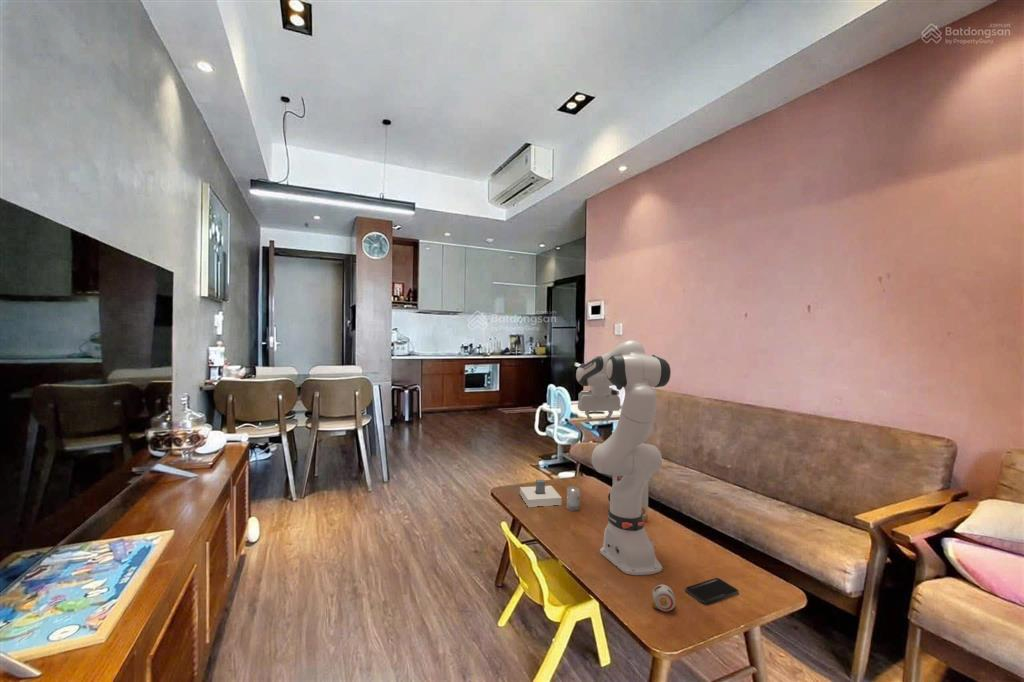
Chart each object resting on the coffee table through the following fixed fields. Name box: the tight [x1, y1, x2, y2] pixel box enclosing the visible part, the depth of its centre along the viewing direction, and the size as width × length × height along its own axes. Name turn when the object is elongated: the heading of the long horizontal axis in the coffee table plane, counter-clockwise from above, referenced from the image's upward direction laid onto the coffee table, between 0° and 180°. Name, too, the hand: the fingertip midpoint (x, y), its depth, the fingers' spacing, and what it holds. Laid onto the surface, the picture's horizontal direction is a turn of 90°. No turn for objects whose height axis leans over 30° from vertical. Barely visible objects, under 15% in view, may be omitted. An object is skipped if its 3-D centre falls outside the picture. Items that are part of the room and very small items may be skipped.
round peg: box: [566, 485, 580, 512], centre depth 184 cm, size 6×6×9 cm
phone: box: [684, 577, 739, 606], centre depth 124 cm, size 8×1×15 cm
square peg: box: [535, 479, 546, 494], centre depth 194 cm, size 4×4×9 cm
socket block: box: [519, 485, 563, 508], centre depth 194 cm, size 16×16×4 cm
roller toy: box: [651, 584, 676, 612], centre depth 116 cm, size 4×6×6 cm
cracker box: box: [612, 475, 649, 522], centre depth 174 cm, size 14×6×21 cm, turn 97°
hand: (598, 420), depth 190 cm, fingers open, 8 cm apart
